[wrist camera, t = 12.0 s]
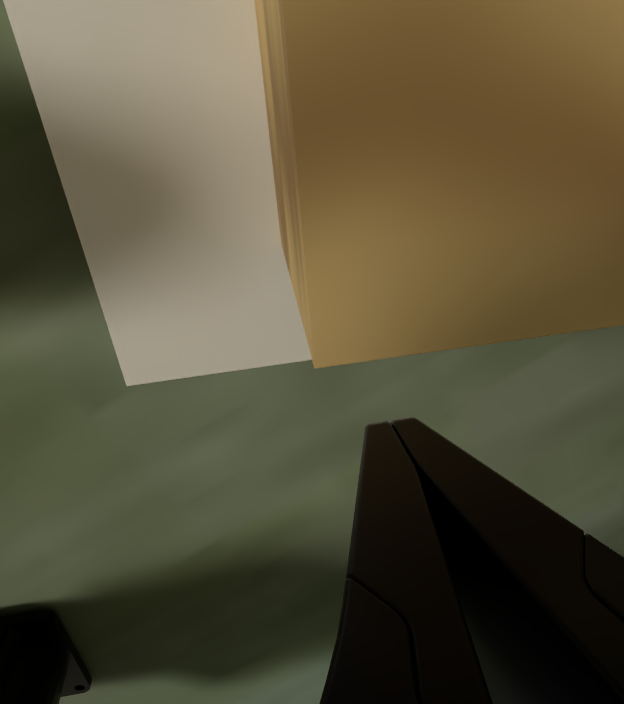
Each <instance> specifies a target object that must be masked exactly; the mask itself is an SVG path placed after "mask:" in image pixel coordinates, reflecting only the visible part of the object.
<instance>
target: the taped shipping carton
mask: <svg viewBox="0 0 624 704" xmlns="http://www.w3.org/2000/svg"><path fill="white" fill-rule="evenodd" d="M254 2H255V11H256V20H257V29H258V38H259V47H260V56H261V65H262V74H263V83H264V92H265V101H266V110H267V119H268V128H269V137H270V146H271V155H272V165H273V174H274V183H275V192H276V201H277V210H278V219H279V228H280V237H281V245H282V249H283V252H284V256H285V260H286V264H287V267H288V271H289V275H290V278H291V282H292V286H293V290H294V293H295V297H296V301H297V305H298V308H299V312H300V316H301V320H302V323H303V327H304V331H305V334H306V338H307V342H308V346H309V349H310V353H311V357H312V361H313V364H314V368H321V367H328V366H336V365H343V364H350V363H357V362H364V361H371V360H378V359H385V358H393V357H400V356H407V355H414V354H421V353H428V352H435V351H442V350H449V349H457V348H464V347H471V346H478V345H485V344H492V343H499V342H506V341H514V340H521V339H528V338H535V337H542V336H549V335H556V334H563V333H570V332H578V331H585V330H592V329H599V328H606V327H613V326H620V325H624V0H254Z"/></svg>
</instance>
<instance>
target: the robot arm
mask: <svg viewBox="0 0 624 704" xmlns="http://www.w3.org/2000/svg"><path fill="white" fill-rule="evenodd" d="M346 578H347V580H346V581H345V588H344V596H343V604H342V610H341V616H340V622H339V627H338V633H337V639H336V643H335V647H334V651H333V655H332V659H331V663H330V667H329V671H328V675H327V679H326V683H325V686H324V690H323V693H322V697H321V700H320V704H624V557H622V556H621V555H619V554H618V553H616V552H615V551H613V550H612V549H610V548H609V547H607V546H606V545H604V544H603V543H601V542H600V541H598V540H597V539H595V538H594V537H592V536H591V535H589V534H586V535H584V532H583V530H581V529H580V528H578V527H577V526H576V525H574V524H573V523H571V522H570V521H568V520H567V519H565V518H564V517H562V516H561V515H559V514H558V513H556V512H555V511H553V510H552V509H550V508H549V507H547V506H546V505H544V504H543V503H541V502H540V501H538V500H537V499H535V498H534V497H532V496H531V495H529V494H528V493H526V492H525V491H523V490H522V489H521V488H519V487H518V486H516V485H515V484H513V483H512V482H510V481H509V480H507V479H506V478H504V477H503V476H501V475H500V474H498V473H497V472H495V471H494V470H492V469H491V468H489V467H488V466H486V465H485V464H483V463H482V462H480V461H479V460H477V459H476V458H474V457H473V456H471V455H470V454H468V453H467V452H466V451H464V450H463V449H461V448H460V447H458V446H457V445H455V444H454V443H452V442H451V441H449V440H448V439H446V438H445V437H443V436H442V435H440V434H439V433H437V432H436V431H434V430H433V429H431V428H430V427H428V426H427V425H425V424H424V423H422V422H421V421H419V420H418V419H416V418H414V417H409V418H403V419H397V420H393V421H392V422H391V423H389V422H387V421H385V422H379V423H372V424H368V425H367V426H366V427H365V434H364V442H363V450H362V458H361V465H360V473H359V481H358V489H357V497H356V504H355V512H354V520H353V528H352V536H351V544H350V551H349V559H348V567H347V575H346ZM91 681H92V678H91V676H90V675H89V673H88V671H87V669H86V667H85V666H84V664H83V662H82V660H81V658H80V657H79V655H78V653H77V651H76V649H75V647H74V646H73V644H72V642H71V640H70V638H69V637H68V635H67V633H66V631H65V629H64V628H63V626H62V624H61V622H60V620H59V619H58V617H57V615H56V614H55V613H54V612H52V611H48V610H42V611H36V612H30V613H24V614H18V615H13V616H7V617H1V618H0V704H59V700H60V697H63V696H69V695H74V694H80V693H84V692H87V691H88V690H89V689H90V686H91Z"/></svg>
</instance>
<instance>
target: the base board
mask: <svg viewBox="0 0 624 704" xmlns="http://www.w3.org/2000/svg"><path fill="white" fill-rule="evenodd" d="M3 1H4V4H5V8H6V11H7V14H8V17H9V20H10V23H11V26H12V29H13V33H14V36H15V39H16V42H17V45H18V48H19V51H20V54H21V58H22V61H23V64H24V67H25V70H26V73H27V76H28V79H29V83H30V86H31V89H32V92H33V95H34V98H35V101H36V104H37V108H38V111H39V114H40V117H41V120H42V123H43V126H44V129H45V133H46V136H47V139H48V142H49V145H50V148H51V151H52V154H53V158H54V161H55V164H56V167H57V170H58V173H59V176H60V179H61V182H62V186H63V189H64V192H65V195H66V198H67V201H68V204H69V207H70V211H71V214H72V217H73V220H74V223H75V226H76V229H77V232H78V236H79V239H80V242H81V245H82V248H83V251H84V254H85V257H86V261H87V264H88V267H89V270H90V273H91V276H92V279H93V282H94V286H95V289H96V292H97V295H98V298H99V301H100V304H101V307H102V311H103V314H104V317H105V320H106V323H107V326H108V329H109V332H110V336H111V339H112V342H113V345H114V348H115V351H116V354H117V357H118V361H119V364H120V367H121V370H122V373H123V376H124V379H125V382H126V386H130V385H137V384H144V383H151V382H158V381H165V380H172V379H179V378H186V377H194V376H201V375H208V374H215V373H222V372H229V371H236V370H243V369H250V368H257V367H264V366H271V365H278V364H285V363H292V362H299V361H306V360H312V357H311V353H310V349H309V346H308V342H307V338H306V334H305V331H304V327H303V323H302V320H301V316H300V312H299V308H298V305H297V301H296V297H295V293H294V290H293V286H292V282H291V278H290V275H289V271H288V267H287V264H286V260H285V256H284V252H283V249H282V245H281V237H280V228H279V219H278V210H277V201H276V192H275V183H274V174H273V165H272V155H271V146H270V137H269V128H268V119H267V110H266V101H265V92H264V83H263V74H262V65H261V56H260V47H259V38H258V29H257V20H256V11H255V2H254V0H3Z"/></svg>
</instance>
